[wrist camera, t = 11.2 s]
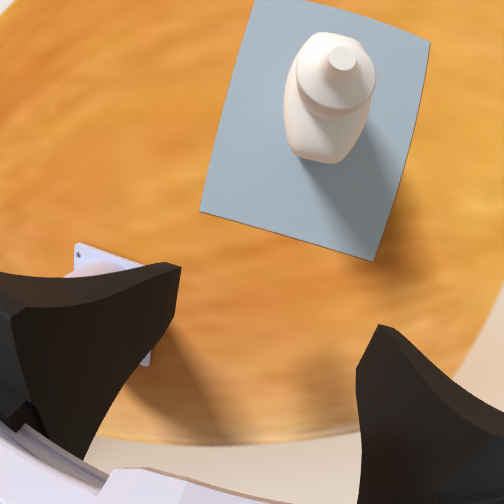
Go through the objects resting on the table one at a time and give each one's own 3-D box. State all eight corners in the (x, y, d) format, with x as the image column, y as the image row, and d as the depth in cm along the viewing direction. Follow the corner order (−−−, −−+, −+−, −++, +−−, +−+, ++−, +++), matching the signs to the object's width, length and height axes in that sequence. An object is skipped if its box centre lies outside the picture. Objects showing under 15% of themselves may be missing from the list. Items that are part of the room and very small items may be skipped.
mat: (372, 261, 20) (372, 261, 20) (199, 210, 21) (199, 210, 21) (429, 42, 15) (430, 41, 15) (257, -7, 16) (257, -8, 15)
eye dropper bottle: (374, 109, 17) (462, 54, 6) (316, 173, 19) (337, 196, 7) (320, 64, 17) (336, -44, 5) (263, 127, 18) (203, 86, 7)
